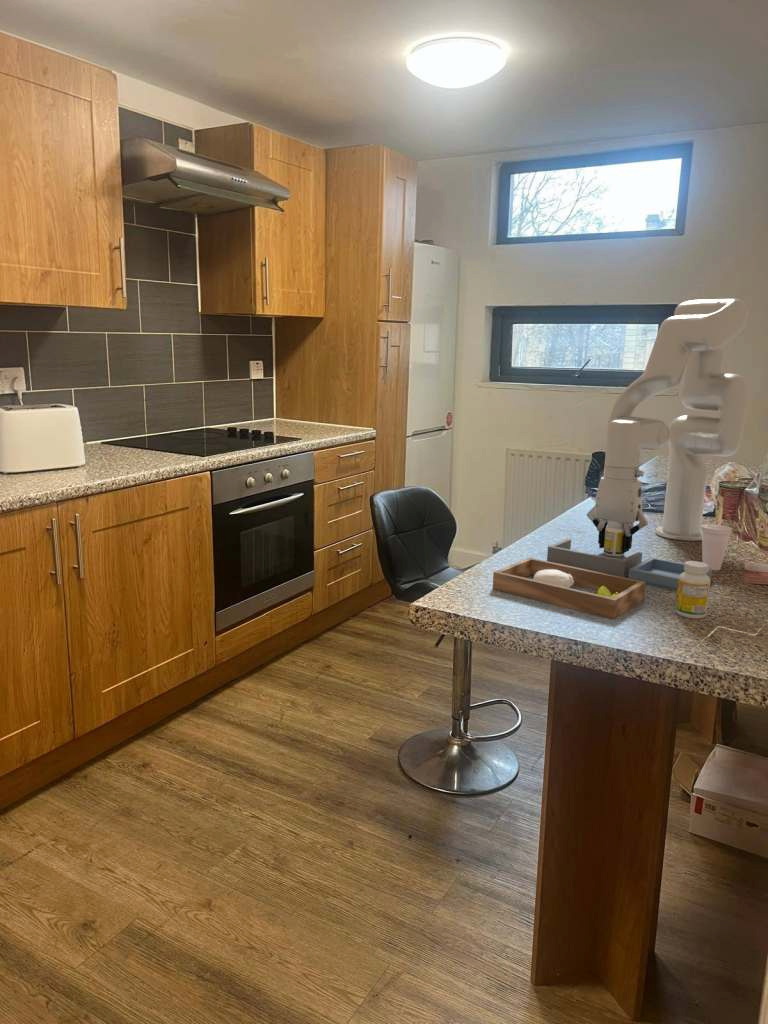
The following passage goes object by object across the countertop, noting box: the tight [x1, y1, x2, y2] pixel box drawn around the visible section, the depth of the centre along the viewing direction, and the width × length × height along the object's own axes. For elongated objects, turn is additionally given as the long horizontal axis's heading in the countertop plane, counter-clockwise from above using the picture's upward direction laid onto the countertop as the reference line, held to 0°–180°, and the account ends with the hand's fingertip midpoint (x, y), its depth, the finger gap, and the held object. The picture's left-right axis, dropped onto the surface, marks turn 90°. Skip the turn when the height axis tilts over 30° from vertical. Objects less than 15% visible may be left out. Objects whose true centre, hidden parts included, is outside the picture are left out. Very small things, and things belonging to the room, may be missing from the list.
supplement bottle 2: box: [674, 560, 711, 619], centre depth 134 cm, size 5×5×10 cm
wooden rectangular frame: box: [492, 557, 647, 620], centre depth 144 cm, size 15×25×4 cm, turn 51°
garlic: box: [532, 569, 574, 588], centre depth 148 cm, size 8×7×4 cm
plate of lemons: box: [594, 586, 619, 598], centre depth 141 cm, size 8×8×3 cm
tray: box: [627, 557, 713, 592], centre depth 155 cm, size 13×13×2 cm
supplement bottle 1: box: [603, 521, 625, 557], centre depth 173 cm, size 5×5×8 cm
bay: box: [546, 538, 643, 578], centre depth 165 cm, size 10×18×4 cm, turn 51°
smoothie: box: [701, 507, 733, 571], centre depth 164 cm, size 6×6×14 cm
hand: (614, 548), depth 174 cm, fingers closed on supplement bottle 1, 4 cm apart
